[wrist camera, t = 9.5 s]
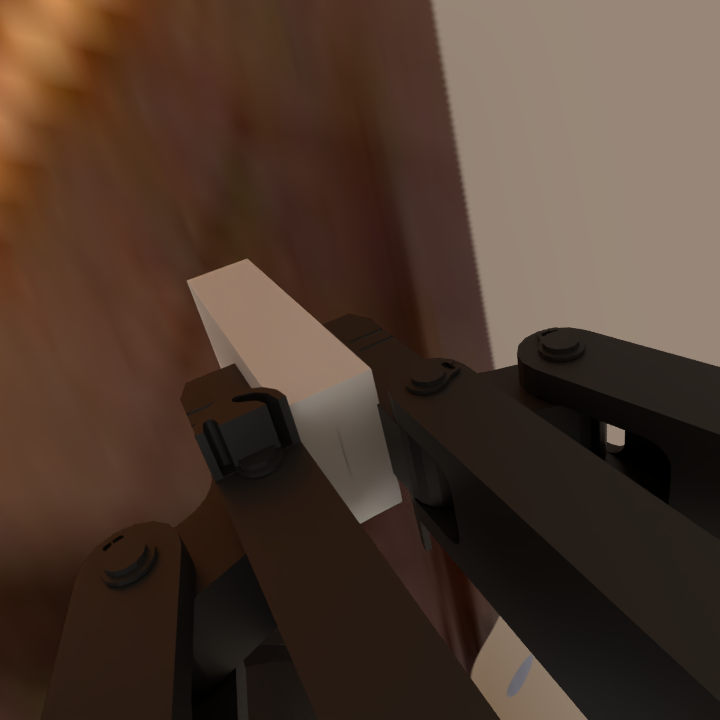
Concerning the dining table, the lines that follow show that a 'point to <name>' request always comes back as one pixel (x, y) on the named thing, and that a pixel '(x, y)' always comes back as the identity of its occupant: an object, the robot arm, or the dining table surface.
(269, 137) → the dining table surface
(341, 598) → the robot arm
